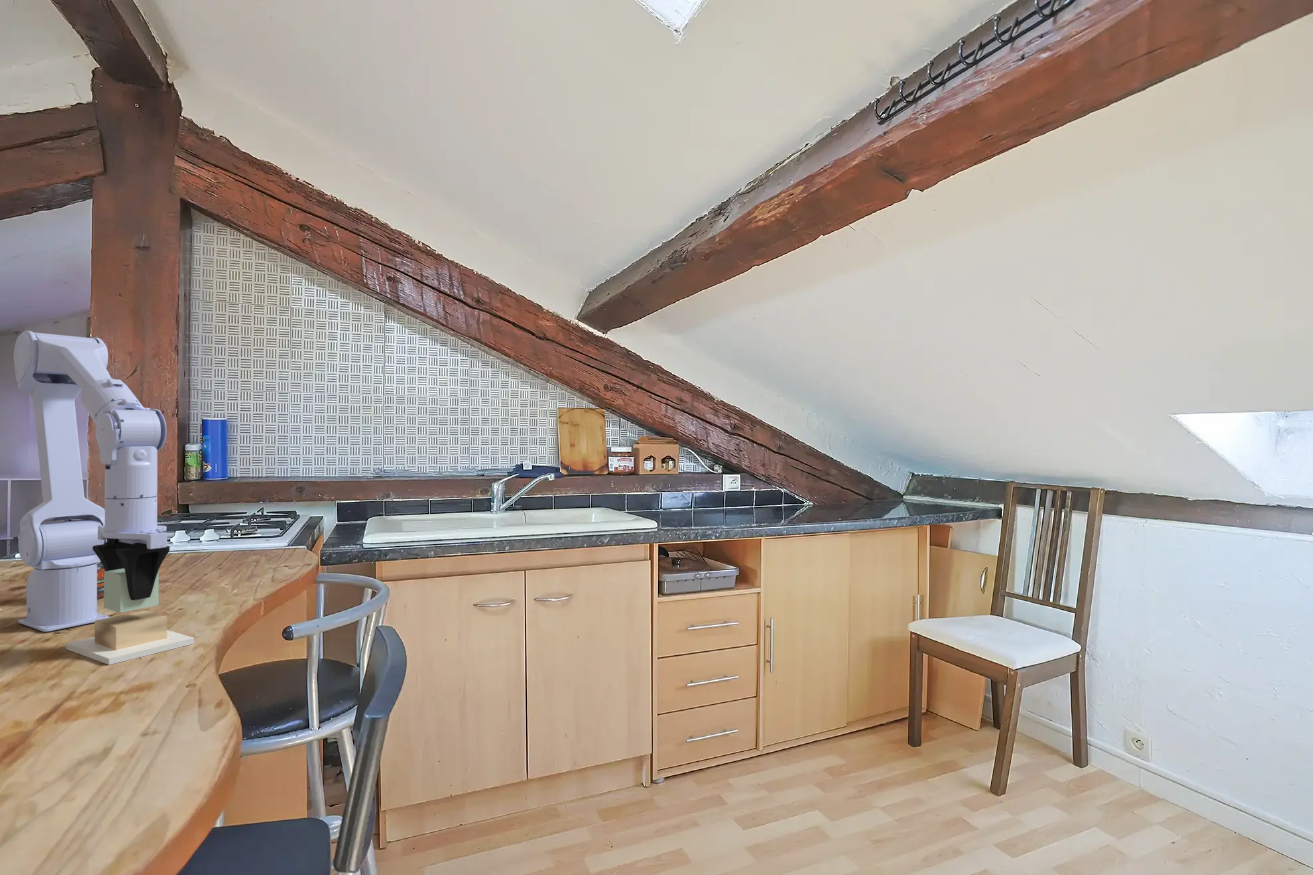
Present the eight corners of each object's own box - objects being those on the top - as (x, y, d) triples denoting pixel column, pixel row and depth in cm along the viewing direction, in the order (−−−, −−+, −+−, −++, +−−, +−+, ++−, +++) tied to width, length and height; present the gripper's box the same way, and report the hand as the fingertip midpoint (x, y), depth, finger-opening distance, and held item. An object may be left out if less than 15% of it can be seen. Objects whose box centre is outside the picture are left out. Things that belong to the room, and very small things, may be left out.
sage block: (104, 608, 93) (104, 571, 93) (142, 600, 97) (142, 565, 96) (120, 612, 90) (120, 575, 90) (158, 605, 94) (158, 569, 94)
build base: (66, 649, 92) (66, 621, 92) (150, 630, 101) (150, 604, 101) (109, 665, 86) (109, 635, 86) (194, 643, 95) (194, 616, 95)
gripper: (191, 497, 93) (191, 596, 93) (138, 492, 100) (138, 584, 100) (132, 502, 87) (131, 608, 87) (79, 495, 94) (79, 594, 94)
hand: (131, 596), depth 93 cm, fingers closed on sage block, 4 cm apart
